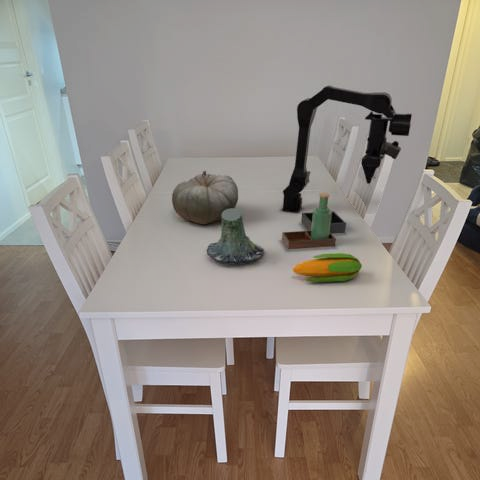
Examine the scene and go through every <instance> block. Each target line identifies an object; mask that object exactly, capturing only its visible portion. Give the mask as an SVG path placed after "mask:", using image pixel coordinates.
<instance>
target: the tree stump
mask: <svg viewBox="0 0 480 480" xmlns="http://www.w3.org/2000/svg"><path fill="white" fill-rule="evenodd" d="M220 232H221V233H220V234H221V235H220V238H219V239H218V241H217V242H212V243H209V244H208V245H207V248H206V254H207V256H209V257H210V258H211V259H212V260H214V261H216V262H217V263H222V264H230V265H239V266H240V265H245V264H249V263H252V262H253V263H254V262H256V261H258V260H259V259H260V258H262V256H264V252H265V250H264V248H262V247H260V245H258V244H256V243H254V242H253V241H252V240H251V239H250V237H249V236H247V235H246V230H245V226H244V219H243V213H242V211H241V210H240V209H239V208H236V207H235V208H231V209H226V210H224V211H223V212H222V219H221V231H220Z"/></svg>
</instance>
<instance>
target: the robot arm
mask: <svg viewBox="0 0 480 480" xmlns="http://www.w3.org/2000/svg"><path fill="white" fill-rule="evenodd" d="M328 100H330V101H334V102H335V101H336V102H340V103H345V104H349V105H350V104H351V105H355V106H359V107H363V108H364V109H367V110H369V111H370V112H369V113H368V115H366V116H365V118H364V120H365V121H366V120H368V121H370V124H369V130H368V137H367V138H366V141H367V144H366V150H365V154H364V155H363V156H362V158H361V162H360V165H361V168H362V170H363V174H364V178H365V180H366V181H365V182H366V184H368V185H369V184H371V182H372V180H373V178H374V177H375V173H376V171H377V169H379V168H380V167H381V164H382V160H383V159H384V158H385V155H386V156H388V157H391V159H394V160H397V158H398V156H399V155H400V152H401V150H402V148H401V146H399V145H400V143H399V141H397V140H394V141H392V142H390V141H389V142H388V141H387V140H388V137H387V132H389V133H390V135H391V136H397V137H399V136H400V137H401V136H402V137H409V135H410V131H411V126H412V116H413V114H412V113H397V112H396V109H395V108H394V106H393V105H392V103H393V98H392V96H391V94H390V93H388V92H362V91H358V90H351V89H346V88H341V87H337V86H336V87H335V86H333V85H325V86H324V87H323V88H322V89H321V90H320V91H319V92H317V93H315V95H313V96H312V97H308V98H305V99H303V100H301V101H299V103H298V104H297V106H296V116H297V117H296V119H297V123H298V124H297V125H298V134H297V143H296V153H295V162H294V168H293V170H292V173H291V176H290V179H289V183H288V185H287V186H286V187H285V188H284V189H283V190H282V194H283V202H282V208H281V211H282V212H289V213H299V212H300V210H301V209H302V206H303V197H302V193H301V192H302V191H303V190H304V189H305V188H306V187H307V185H308V184H309V183H310V175H311V171H310V170H307V169H308V168H307V162H308V153H309V145H310V139H311V130H312V125H313V122H314V120H315V117H316V113H317V110H318V108H319V107H320V106H321V105H322V104H324V103H325V102H326V101H328ZM387 130H388V131H387Z"/></svg>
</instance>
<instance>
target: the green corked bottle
mask: <svg viewBox="0 0 480 480" xmlns="http://www.w3.org/2000/svg"><path fill="white" fill-rule="evenodd" d="M318 196H319V202H318V203H319V204H318V206H316V208H315V209H313V210H312V212H313V218H312V228H311V238H312V239H313V240H318V239H329V233H330V225H331V217H332V210H331V209H330V207H329V206H328V204H329V198H330V193H327V192H321V193H319V195H318Z"/></svg>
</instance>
